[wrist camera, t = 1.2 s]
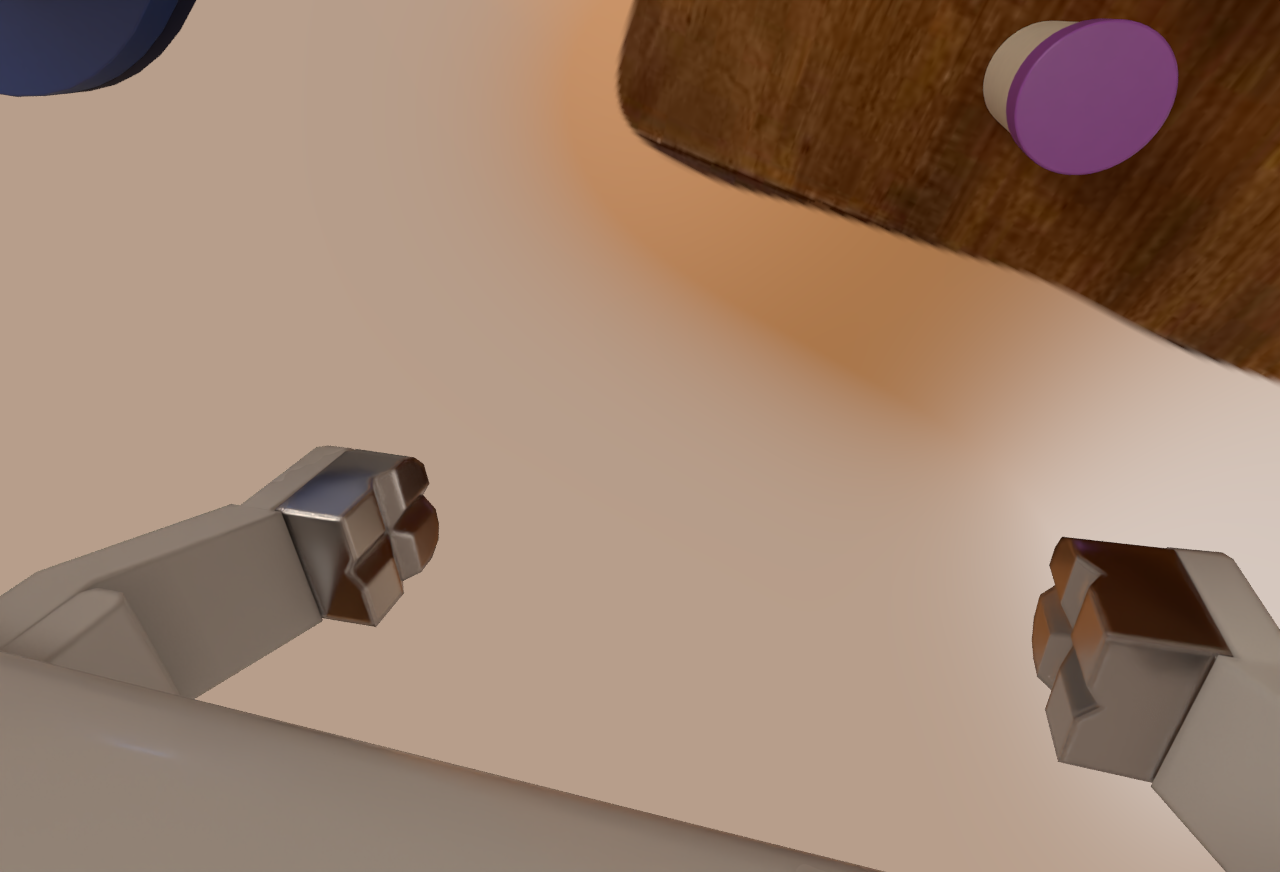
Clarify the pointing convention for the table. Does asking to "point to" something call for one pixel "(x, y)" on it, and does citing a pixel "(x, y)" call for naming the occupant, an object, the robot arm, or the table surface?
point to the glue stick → (1082, 91)
